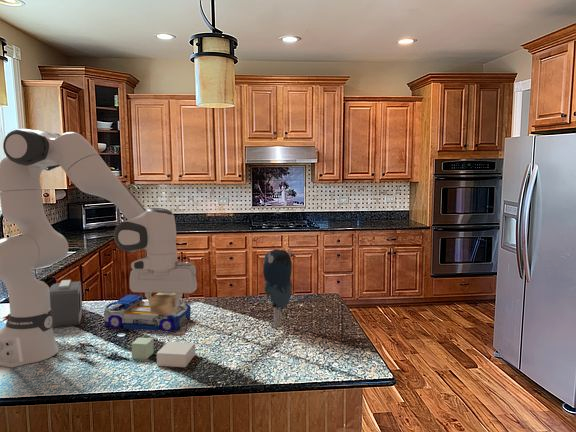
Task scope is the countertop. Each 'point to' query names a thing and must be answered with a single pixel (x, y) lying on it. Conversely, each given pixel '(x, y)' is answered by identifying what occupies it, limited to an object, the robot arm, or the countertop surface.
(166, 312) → the oak block
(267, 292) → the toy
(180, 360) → the pedestal
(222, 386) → the countertop surface
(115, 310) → the toy car
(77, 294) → the grey box with button
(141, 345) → the green cube
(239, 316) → the countertop surface
